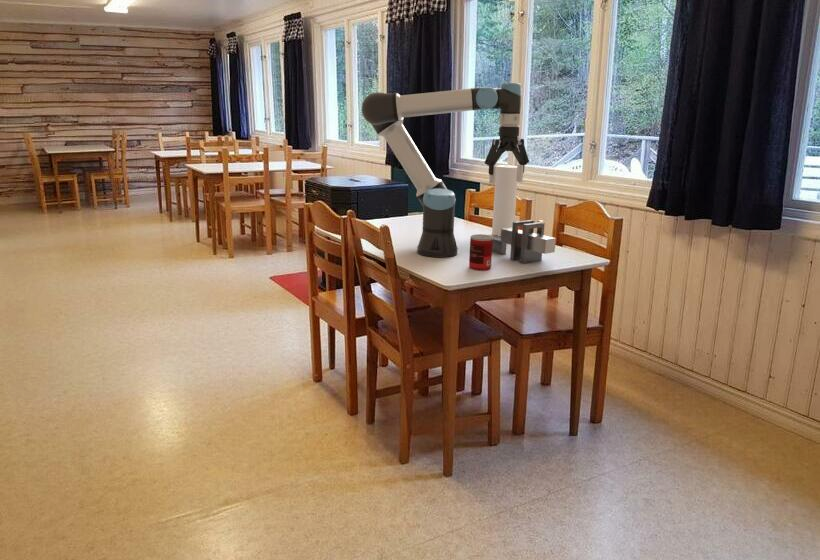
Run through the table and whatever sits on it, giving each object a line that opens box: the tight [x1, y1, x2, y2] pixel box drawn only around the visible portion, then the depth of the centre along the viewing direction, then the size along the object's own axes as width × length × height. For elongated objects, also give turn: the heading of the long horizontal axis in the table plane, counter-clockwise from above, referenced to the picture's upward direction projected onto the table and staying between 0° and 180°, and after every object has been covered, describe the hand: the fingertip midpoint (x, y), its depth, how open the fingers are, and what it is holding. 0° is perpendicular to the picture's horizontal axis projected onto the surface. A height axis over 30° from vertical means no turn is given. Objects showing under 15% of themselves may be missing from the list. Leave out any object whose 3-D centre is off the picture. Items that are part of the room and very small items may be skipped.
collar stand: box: [509, 219, 546, 265], centre depth 224 cm, size 12×7×14 cm, turn 126°
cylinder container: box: [491, 164, 518, 237], centre depth 266 cm, size 9×9×30 cm
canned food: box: [468, 234, 493, 271], centre depth 212 cm, size 8×8×11 cm
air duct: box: [500, 228, 557, 255], centre depth 224 cm, size 22×5×5 cm, turn 36°
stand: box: [492, 236, 508, 255], centre depth 238 cm, size 2×11×5 cm, turn 36°
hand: (505, 182), depth 238 cm, fingers open, 13 cm apart
